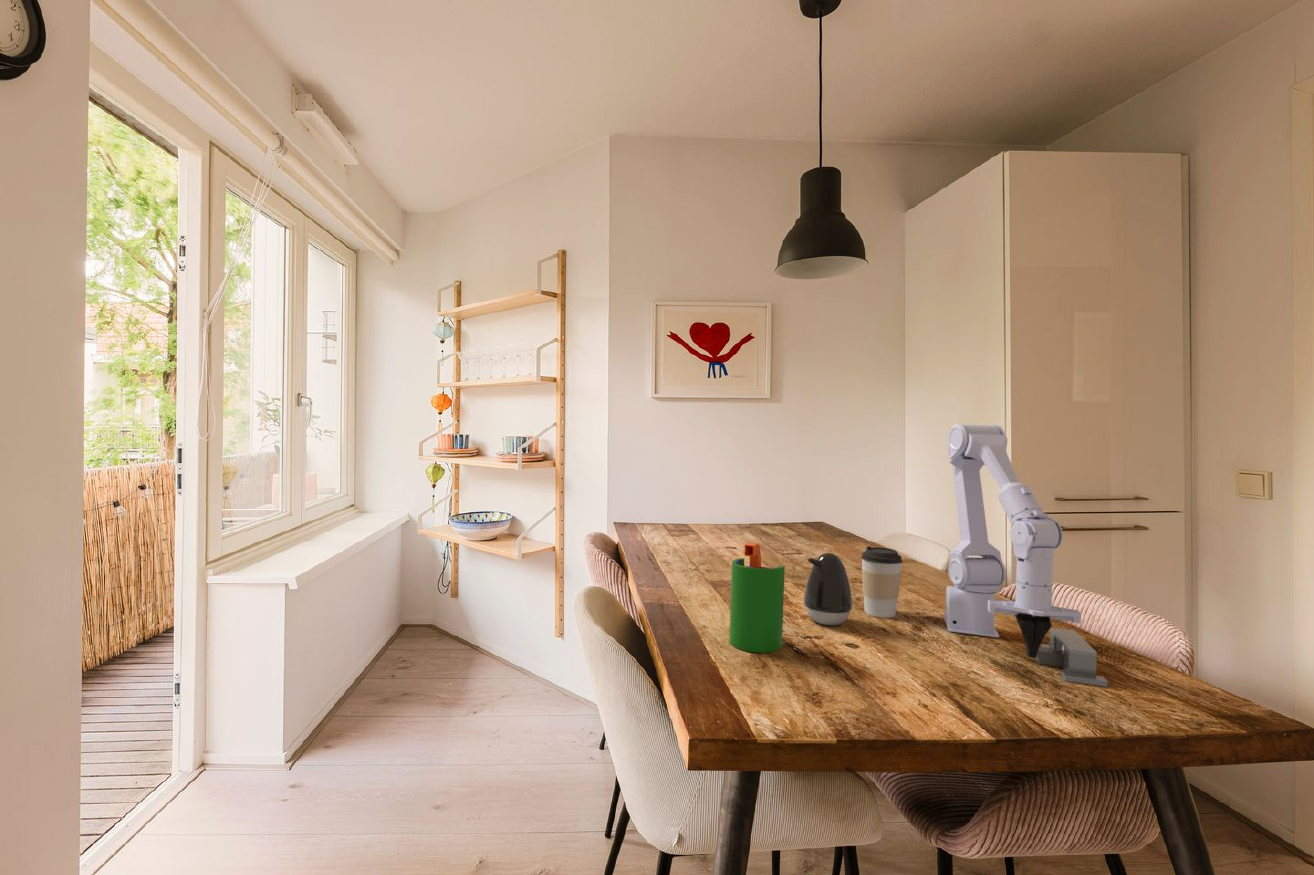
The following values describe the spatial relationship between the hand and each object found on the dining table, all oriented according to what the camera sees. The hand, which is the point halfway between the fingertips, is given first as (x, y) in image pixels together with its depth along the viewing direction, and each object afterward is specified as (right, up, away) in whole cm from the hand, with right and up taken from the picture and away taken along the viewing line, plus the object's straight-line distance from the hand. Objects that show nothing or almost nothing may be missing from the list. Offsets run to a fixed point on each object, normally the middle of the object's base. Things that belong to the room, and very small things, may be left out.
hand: (1031, 655), depth 109 cm
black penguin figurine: (-32, 0, +20) cm, 38 cm away
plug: (+5, -1, -2) cm, 5 cm away
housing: (+6, -1, -2) cm, 6 cm away
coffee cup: (-18, 0, +27) cm, 32 cm away
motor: (-51, 0, +5) cm, 51 cm away
